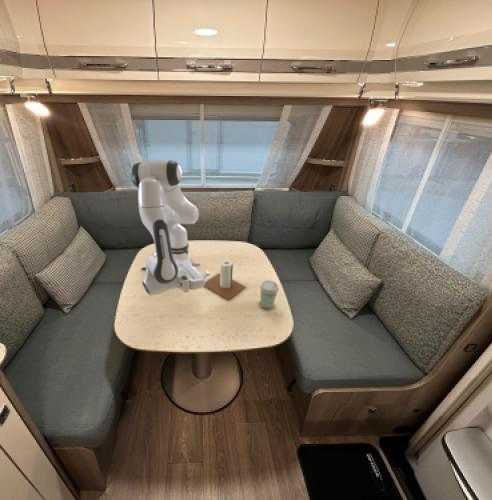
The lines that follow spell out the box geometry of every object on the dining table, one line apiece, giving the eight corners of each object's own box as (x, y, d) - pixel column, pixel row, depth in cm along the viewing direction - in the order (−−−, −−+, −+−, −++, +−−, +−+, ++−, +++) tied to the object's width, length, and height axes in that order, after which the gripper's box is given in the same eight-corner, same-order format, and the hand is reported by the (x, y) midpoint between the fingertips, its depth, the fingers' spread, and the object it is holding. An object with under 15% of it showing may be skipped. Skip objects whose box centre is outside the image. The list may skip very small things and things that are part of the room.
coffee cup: (264, 313, 125) (267, 293, 119) (254, 301, 132) (256, 282, 126) (279, 307, 128) (282, 288, 122) (269, 297, 135) (271, 278, 129)
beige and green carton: (219, 287, 140) (219, 265, 133) (220, 281, 146) (221, 259, 138) (231, 288, 140) (232, 266, 132) (232, 282, 145) (233, 260, 138)
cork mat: (202, 285, 144) (202, 284, 143) (219, 274, 152) (219, 273, 152) (228, 300, 133) (228, 299, 132) (245, 287, 142) (245, 286, 141)
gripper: (169, 271, 133) (194, 263, 139) (188, 294, 118) (214, 284, 124) (168, 261, 130) (193, 253, 136) (187, 283, 115) (214, 273, 121)
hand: (203, 268), depth 130 cm, fingers open, 8 cm apart
